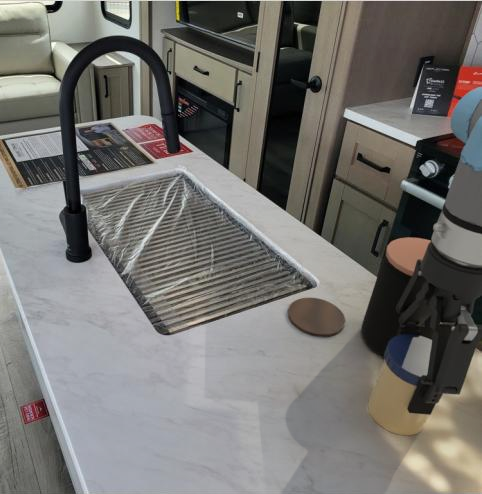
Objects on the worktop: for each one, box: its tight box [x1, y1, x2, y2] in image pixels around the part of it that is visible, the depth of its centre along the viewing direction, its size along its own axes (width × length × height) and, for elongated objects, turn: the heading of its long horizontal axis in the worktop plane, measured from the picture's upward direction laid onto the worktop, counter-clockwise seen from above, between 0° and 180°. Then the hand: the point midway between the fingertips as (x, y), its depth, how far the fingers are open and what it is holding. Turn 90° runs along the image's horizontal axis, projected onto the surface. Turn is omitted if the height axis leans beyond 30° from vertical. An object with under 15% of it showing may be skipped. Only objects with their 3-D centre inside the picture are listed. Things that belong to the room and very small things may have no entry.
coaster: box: [287, 297, 346, 338], centre depth 87 cm, size 10×10×1 cm
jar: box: [367, 358, 430, 436], centre depth 67 cm, size 8×8×12 cm
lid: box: [383, 334, 432, 386], centre depth 64 cm, size 8×8×2 cm
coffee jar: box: [360, 236, 434, 358], centre depth 77 cm, size 11×11×18 cm
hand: (407, 385), depth 66 cm, fingers closed on lid, 8 cm apart
